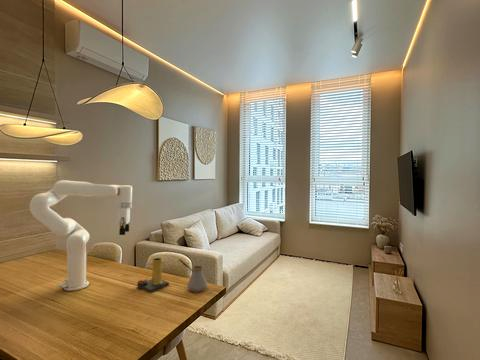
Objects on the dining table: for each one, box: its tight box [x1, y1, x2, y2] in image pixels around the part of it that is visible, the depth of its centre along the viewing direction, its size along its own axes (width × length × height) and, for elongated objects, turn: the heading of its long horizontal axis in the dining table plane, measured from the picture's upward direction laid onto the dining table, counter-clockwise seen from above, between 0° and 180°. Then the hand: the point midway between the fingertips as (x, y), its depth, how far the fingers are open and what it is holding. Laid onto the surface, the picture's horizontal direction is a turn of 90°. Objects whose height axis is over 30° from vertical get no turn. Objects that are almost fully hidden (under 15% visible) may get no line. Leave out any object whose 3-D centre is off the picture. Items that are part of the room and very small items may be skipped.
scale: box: [137, 278, 170, 294], centre depth 155 cm, size 14×13×4 cm
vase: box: [151, 257, 163, 285], centre depth 156 cm, size 6×6×14 cm
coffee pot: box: [177, 258, 208, 293], centre depth 155 cm, size 21×12×15 cm, turn 57°
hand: (124, 233), depth 161 cm, fingers open, 9 cm apart
